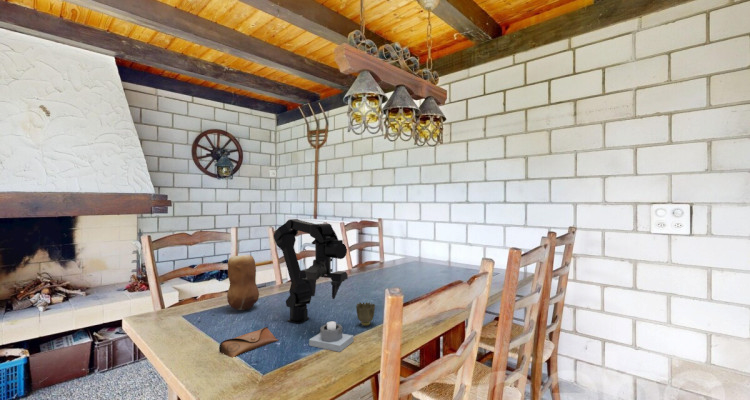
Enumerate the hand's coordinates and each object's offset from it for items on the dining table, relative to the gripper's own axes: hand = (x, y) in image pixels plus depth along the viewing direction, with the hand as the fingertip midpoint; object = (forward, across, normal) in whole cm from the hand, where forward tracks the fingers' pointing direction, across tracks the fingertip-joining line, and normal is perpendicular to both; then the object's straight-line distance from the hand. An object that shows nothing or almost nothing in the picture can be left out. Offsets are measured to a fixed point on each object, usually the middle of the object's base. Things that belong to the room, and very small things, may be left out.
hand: (323, 297), depth 127 cm
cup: (+12, +13, +10) cm, 20 cm away
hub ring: (+10, +10, -10) cm, 17 cm away
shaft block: (+12, +10, -10) cm, 19 cm away
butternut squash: (+12, -47, +5) cm, 49 cm away
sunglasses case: (+13, -14, -22) cm, 29 cm away
